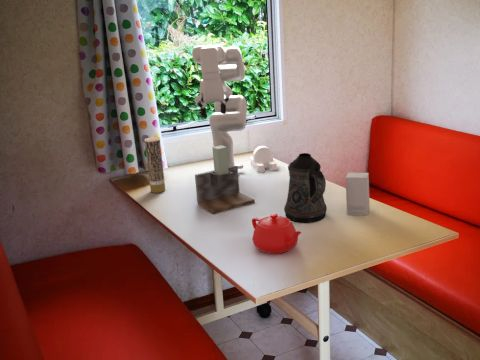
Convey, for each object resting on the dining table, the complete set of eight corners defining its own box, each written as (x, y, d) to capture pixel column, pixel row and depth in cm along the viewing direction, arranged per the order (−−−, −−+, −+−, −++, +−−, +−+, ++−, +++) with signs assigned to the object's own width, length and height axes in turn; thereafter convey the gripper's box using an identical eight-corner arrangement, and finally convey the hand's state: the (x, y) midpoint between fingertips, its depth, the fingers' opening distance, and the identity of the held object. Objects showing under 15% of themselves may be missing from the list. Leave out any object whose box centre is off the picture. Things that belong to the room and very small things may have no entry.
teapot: (237, 244, 196) (234, 212, 192) (270, 231, 205) (268, 200, 201) (285, 267, 177) (283, 232, 174) (319, 251, 186) (318, 218, 182)
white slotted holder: (258, 172, 276) (257, 151, 273) (250, 163, 293) (248, 143, 290) (277, 170, 278) (276, 149, 275) (267, 161, 295) (266, 141, 292)
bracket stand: (237, 194, 247) (235, 165, 243) (254, 202, 235) (252, 172, 231) (197, 204, 237) (194, 174, 233) (213, 214, 226) (210, 182, 222)
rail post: (224, 181, 238) (221, 145, 233) (229, 183, 235) (226, 147, 230) (215, 183, 236) (212, 147, 231) (220, 186, 233) (217, 149, 228)
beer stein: (297, 205, 228) (295, 147, 221) (341, 213, 218) (340, 151, 210) (276, 219, 216) (273, 157, 208) (321, 228, 205) (320, 163, 197)
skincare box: (369, 210, 219) (369, 172, 214) (367, 216, 213) (367, 177, 208) (348, 208, 222) (348, 171, 217) (345, 214, 216) (345, 176, 211)
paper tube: (166, 188, 261) (161, 136, 254) (163, 193, 255) (157, 140, 247) (152, 188, 262) (146, 137, 255) (149, 193, 256) (142, 141, 248)
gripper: (223, 73, 248) (226, 111, 253) (189, 77, 240) (192, 117, 245) (232, 74, 242) (234, 113, 247) (196, 79, 234) (200, 119, 239)
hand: (213, 115), depth 246 cm, fingers open, 9 cm apart
